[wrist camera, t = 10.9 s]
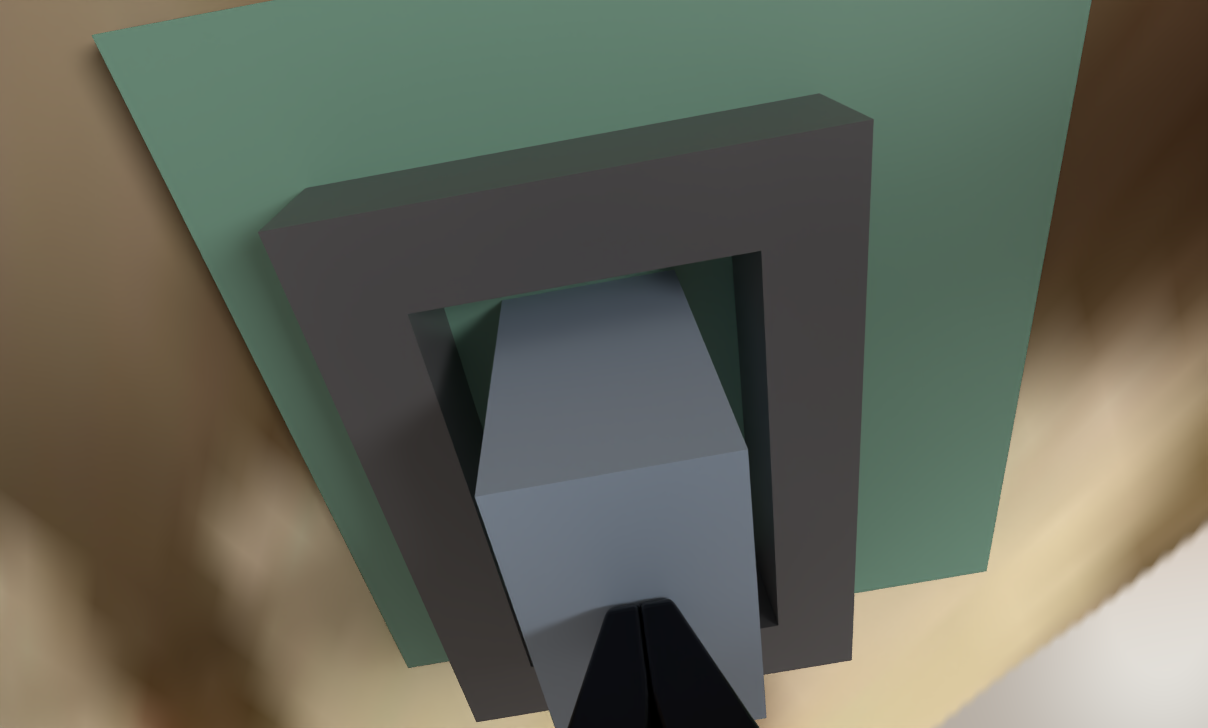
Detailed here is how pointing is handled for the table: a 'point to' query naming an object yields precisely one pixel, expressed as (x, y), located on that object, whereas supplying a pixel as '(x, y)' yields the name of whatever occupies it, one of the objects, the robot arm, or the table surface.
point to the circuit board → (626, 100)
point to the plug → (617, 479)
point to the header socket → (582, 254)
